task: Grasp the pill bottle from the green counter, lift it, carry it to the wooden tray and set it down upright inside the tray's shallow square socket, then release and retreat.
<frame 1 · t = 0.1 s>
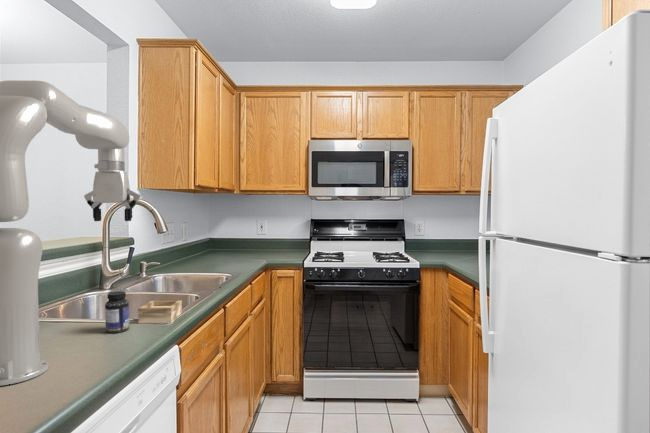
hand: (112, 221, 132), 31 cm above the worktop, fingers open, 9 cm apart
wooden tray: (161, 318, 131), on the worktop
pill bottle: (117, 331, 119), on the worktop
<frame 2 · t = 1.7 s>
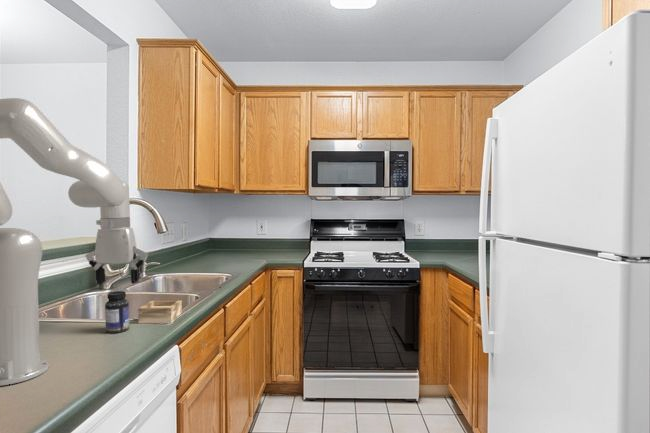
hand: (118, 282, 119), 14 cm above the worktop, fingers open, 9 cm apart
nothing on the worktop moved.
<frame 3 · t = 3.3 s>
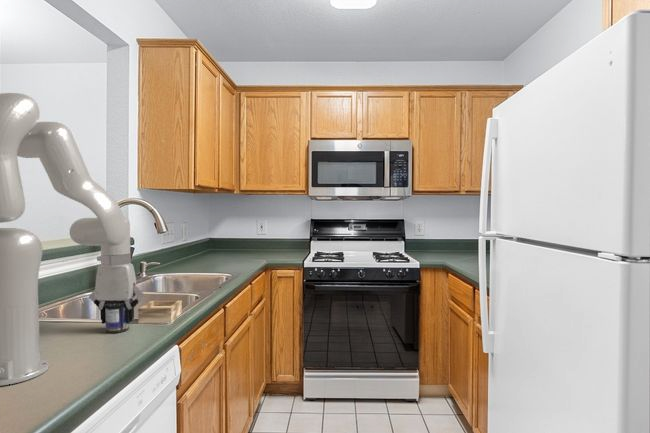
hand: (117, 321, 119), 3 cm above the worktop, fingers closed on pill bottle, 6 cm apart
pill bottle: (117, 331, 119), on the worktop, touching gripper
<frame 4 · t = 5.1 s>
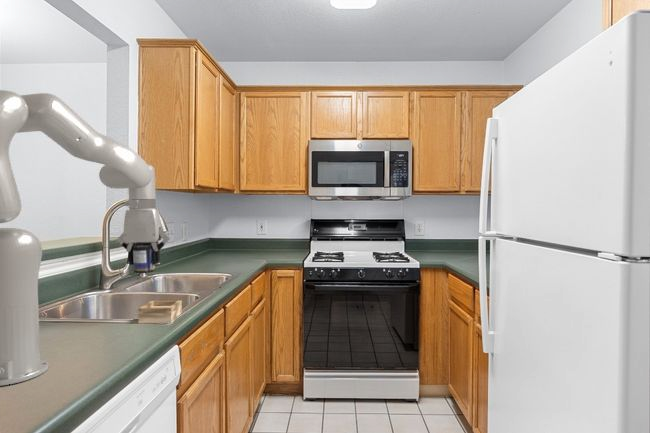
hand: (144, 263, 126), 18 cm above the worktop, fingers closed on pill bottle, 6 cm apart
pill bottle: (144, 272, 126), point 16 cm above the worktop, touching gripper
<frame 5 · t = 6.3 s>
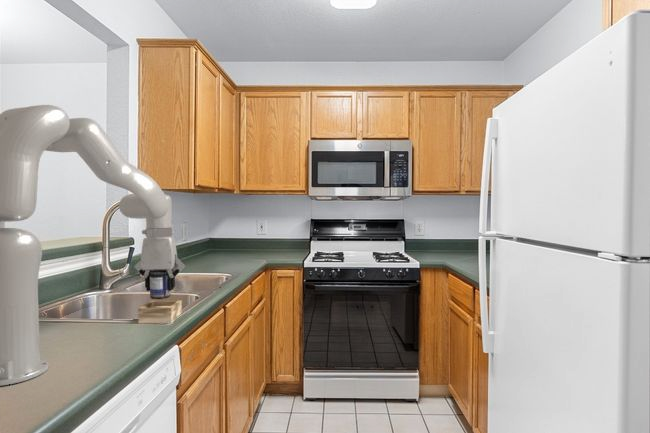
hand: (160, 289, 130), 9 cm above the worktop, fingers closed on pill bottle, 6 cm apart
pill bottle: (160, 298, 131), point 7 cm above the worktop, touching gripper
when the fingers open (7 cm above the worktop, at t = 7.3 s): pill bottle stays where it is, resting on wooden tray.
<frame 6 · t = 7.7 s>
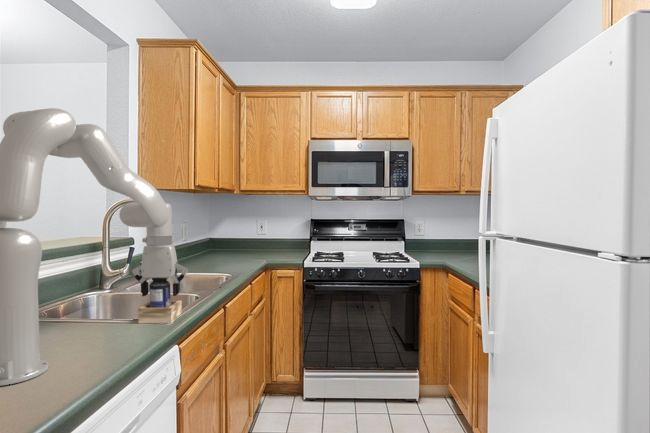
hand: (160, 295, 131), 7 cm above the worktop, fingers open, 9 cm apart
pill bottle: (160, 309, 131), point 3 cm above the worktop, touching wooden tray
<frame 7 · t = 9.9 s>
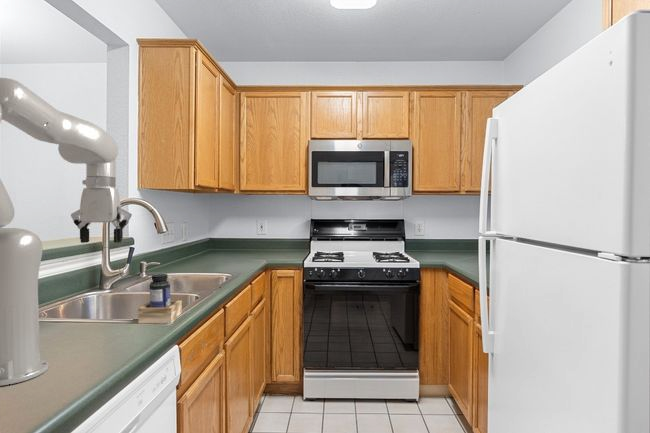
hand: (101, 242, 120), 25 cm above the worktop, fingers open, 9 cm apart
nothing on the worktop moved.
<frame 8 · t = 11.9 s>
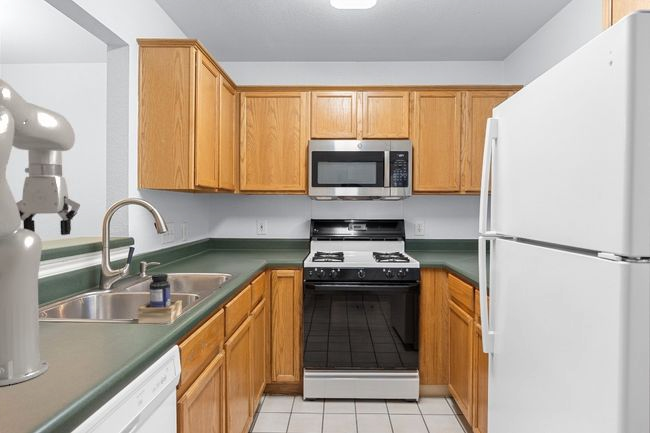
hand: (47, 234, 112), 28 cm above the worktop, fingers open, 9 cm apart
nothing on the worktop moved.
at the end: pill bottle 0.2 cm off-centre on the wooden tray, point 2.8 cm above the wooden tray's base; pill bottle tilted 0°; the gripper is holding nothing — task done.
